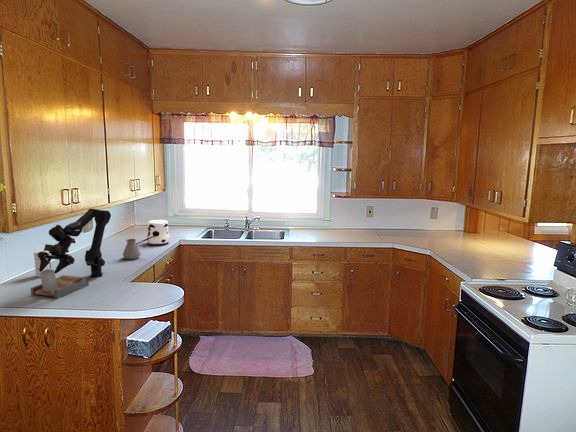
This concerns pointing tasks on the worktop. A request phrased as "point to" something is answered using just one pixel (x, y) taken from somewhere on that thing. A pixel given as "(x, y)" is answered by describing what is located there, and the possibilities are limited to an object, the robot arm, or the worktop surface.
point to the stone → (48, 280)
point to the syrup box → (37, 263)
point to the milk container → (158, 232)
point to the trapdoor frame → (64, 288)
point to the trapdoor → (59, 284)
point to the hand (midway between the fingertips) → (47, 272)
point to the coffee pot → (132, 249)
